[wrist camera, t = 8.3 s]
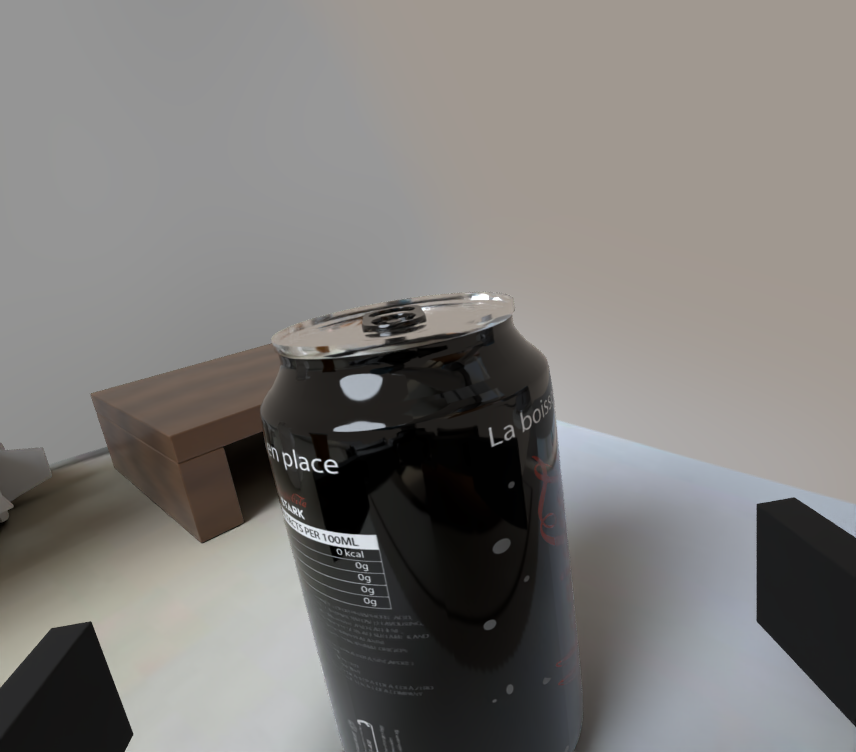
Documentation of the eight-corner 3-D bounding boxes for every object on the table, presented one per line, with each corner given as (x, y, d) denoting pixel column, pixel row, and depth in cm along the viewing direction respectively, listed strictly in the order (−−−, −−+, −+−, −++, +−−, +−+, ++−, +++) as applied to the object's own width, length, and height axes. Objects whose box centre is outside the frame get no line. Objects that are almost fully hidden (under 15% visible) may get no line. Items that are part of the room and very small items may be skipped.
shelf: (427, 434, 38) (413, 351, 37) (201, 544, 29) (169, 436, 27) (299, 401, 52) (284, 339, 50) (114, 468, 42) (89, 393, 40)
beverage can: (543, 621, 19) (503, 279, 16) (632, 821, 13) (593, 310, 10) (350, 661, 19) (271, 318, 16) (339, 888, 12) (200, 378, 9)
